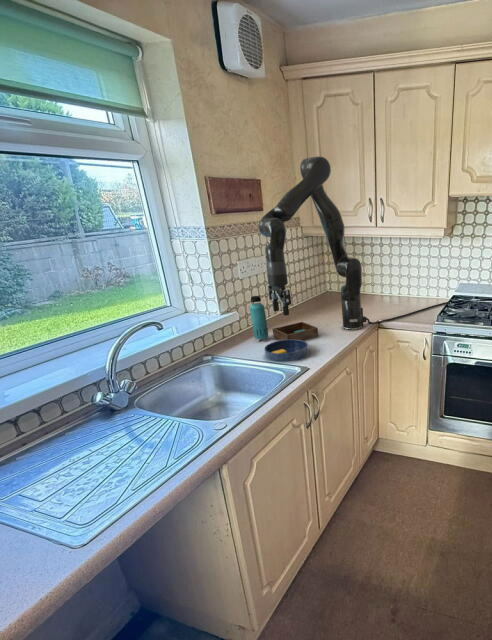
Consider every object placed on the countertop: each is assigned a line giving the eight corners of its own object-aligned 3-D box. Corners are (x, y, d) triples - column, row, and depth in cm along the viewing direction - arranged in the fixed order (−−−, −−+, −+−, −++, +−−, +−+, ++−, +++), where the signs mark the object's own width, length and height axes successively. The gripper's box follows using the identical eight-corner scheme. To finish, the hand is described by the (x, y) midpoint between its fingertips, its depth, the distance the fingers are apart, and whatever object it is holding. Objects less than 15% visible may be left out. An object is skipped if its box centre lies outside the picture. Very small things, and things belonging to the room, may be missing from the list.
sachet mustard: (283, 353, 167) (282, 348, 166) (287, 355, 165) (286, 351, 164) (272, 356, 164) (271, 351, 163) (276, 358, 162) (275, 354, 161)
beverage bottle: (256, 343, 180) (249, 298, 172) (253, 339, 186) (246, 295, 177) (270, 341, 183) (264, 296, 175) (267, 337, 188) (261, 293, 180)
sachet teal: (303, 333, 191) (303, 329, 190) (307, 334, 188) (307, 330, 188) (294, 335, 188) (294, 331, 187) (298, 337, 185) (298, 333, 185)
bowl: (295, 345, 178) (294, 336, 176) (316, 355, 166) (316, 346, 164) (258, 354, 168) (257, 346, 166) (278, 366, 156) (277, 357, 154)
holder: (303, 330, 196) (302, 321, 194) (318, 337, 187) (317, 327, 185) (273, 338, 187) (272, 328, 185) (288, 345, 177) (287, 335, 175)
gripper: (294, 273, 156) (298, 315, 163) (277, 269, 166) (281, 308, 173) (276, 275, 152) (281, 318, 159) (259, 271, 162) (264, 311, 169)
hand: (281, 313), depth 166 cm, fingers open, 8 cm apart
